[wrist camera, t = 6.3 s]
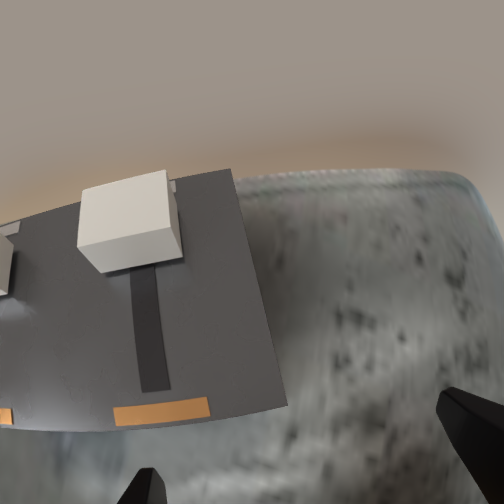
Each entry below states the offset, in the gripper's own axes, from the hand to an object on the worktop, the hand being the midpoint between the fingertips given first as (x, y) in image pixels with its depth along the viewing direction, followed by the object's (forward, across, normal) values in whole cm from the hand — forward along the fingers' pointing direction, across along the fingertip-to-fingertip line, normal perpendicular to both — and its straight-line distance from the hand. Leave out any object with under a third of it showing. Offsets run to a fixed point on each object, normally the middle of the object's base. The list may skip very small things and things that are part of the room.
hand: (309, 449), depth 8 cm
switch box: (+13, +9, +2) cm, 16 cm away
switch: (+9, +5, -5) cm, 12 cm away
